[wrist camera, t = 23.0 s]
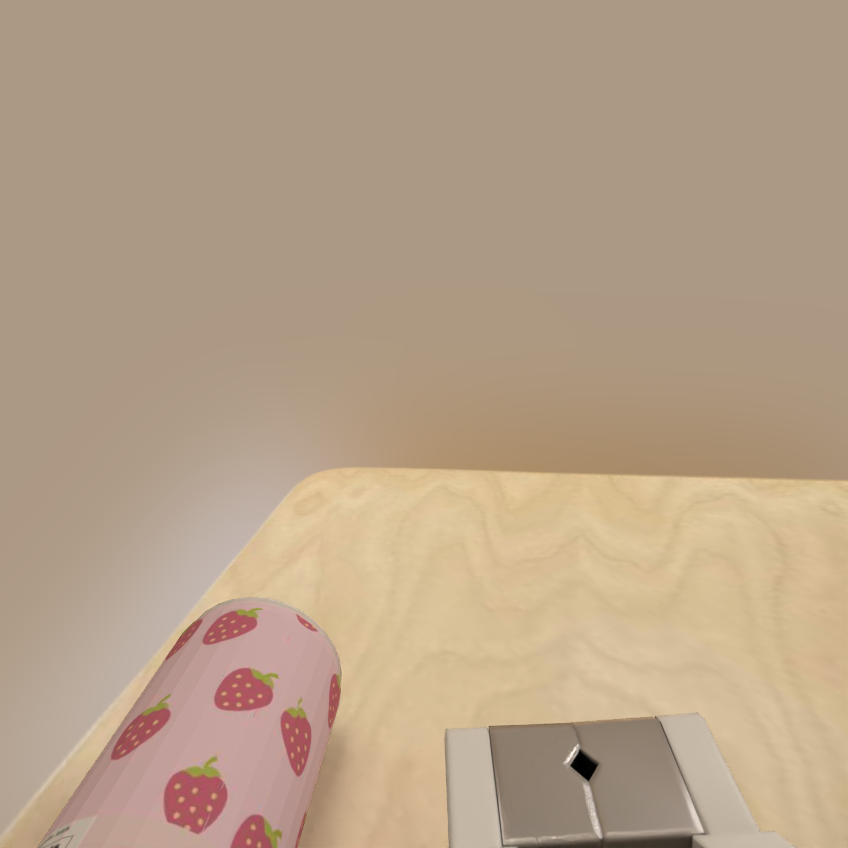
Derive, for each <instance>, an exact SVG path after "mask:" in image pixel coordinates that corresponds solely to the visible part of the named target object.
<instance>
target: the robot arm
mask: <svg viewBox="0 0 848 848" xmlns="http://www.w3.org/2000/svg"><path fill="white" fill-rule="evenodd" d="M445 762H446V787H447V811H448V835H449V848H796V847H795V846H794V845H792V844H791V843H790V842H788V841H787V840H786V839H784V838H783V837H782V836H780V835H779V834H778V833H776V832H775V831H764V832H760V830H759V828H758V826H757V824H756V822H755V820H754V818H753V816H752V813H751V811H750V809H749V807H748V805H747V803H746V801H745V799H744V797H743V795H742V793H741V791H740V789H739V787H738V785H737V783H736V781H735V779H734V777H733V775H732V773H731V771H730V769H729V767H728V765H727V763H726V761H725V759H724V757H723V755H722V753H721V751H720V749H719V747H718V745H717V743H716V741H715V739H714V737H713V735H712V733H711V731H710V729H709V727H708V725H707V723H706V721H705V719H704V718H703V717H702V716H701V715H700V714H698V713H688V714H675V715H662V716H655V717H654V718H653V717H640V718H627V719H613V720H599V721H585V722H572V723H558V724H532V725H506V726H489V732H488V728H487V727H483V728H450V729H446V732H445Z"/></svg>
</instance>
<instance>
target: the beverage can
mask: <svg viewBox="0 0 848 848" xmlns="http://www.w3.org/2000/svg"><path fill="white" fill-rule="evenodd" d="M341 675H342V674H341V666H340V659H339V657H338V654H337V652H336V649H335V646H334V645H333V643H332V641H331V640H330V638H329V637H328V635H327V634H326V632H325V631H324V630H323V629H322V628H321V627H320V626H319V625H318V624H317V622H316V621H315V620H314V619H312V618H311V617H310V616H308V615H307V614H305V613H304V612H303V611H301V610H300V609H298V608H295V607H293V606H291V605H289V604H287V603H285V602H281V601H277V600H274V599H270V598H260V597H247V598H237V599H232V600H229V601H226V602H222V603H219V604H217V605H216V606H214V607H212V608H210V609H209V610H207V611H206V612H204V613H203V614H202V615H201V616H200V617H199V618H198V619H197V620H196V621H195V622H193V623H192V624H191V625H190V626H189V627H188V628H187V629H186V630H185V631H184V632H183V633H182V635H181V636H180V638H179V639H178V641H177V642H176V644H175V645H174V647H173V648H172V650H171V651H170V652H169V654H168V655H167V657H166V658H165V660H164V661H163V663H162V664H161V666H160V667H159V669H158V670H157V672H156V673H155V675H154V676H153V678H152V679H151V680H150V682H149V683H148V685H147V686H146V688H145V689H144V691H143V692H142V694H141V695H140V697H139V698H138V700H137V701H136V703H135V704H134V706H133V707H132V708H131V710H130V711H129V713H128V714H127V716H126V717H125V719H124V720H123V722H122V723H121V725H120V726H119V728H118V729H117V731H116V732H115V734H114V735H113V736H112V738H111V739H110V741H109V742H108V744H107V745H106V747H105V748H104V750H103V751H102V753H101V754H100V756H99V757H98V759H97V760H96V762H95V763H94V764H93V766H92V767H91V769H90V770H89V772H88V773H87V775H86V776H85V778H84V779H83V781H82V782H81V784H80V785H79V787H78V788H77V790H76V791H75V792H74V794H73V795H72V797H71V798H70V800H69V801H68V803H67V804H66V806H65V807H64V809H63V810H62V812H61V813H60V815H59V816H58V818H57V819H56V820H55V822H54V823H53V825H52V826H51V828H50V829H49V831H48V832H47V834H46V835H45V837H44V838H43V840H42V841H41V843H40V844H39V846H38V847H37V848H297V846H298V843H299V839H300V836H301V832H302V829H303V826H304V822H305V819H306V815H307V812H308V809H309V805H310V802H311V798H312V795H313V792H314V788H315V785H316V781H317V778H318V775H319V771H320V768H321V764H322V761H323V758H324V754H325V751H326V747H327V744H328V741H329V737H330V734H331V730H332V727H333V723H334V720H335V717H336V713H337V710H338V706H339V701H340V693H341V687H340V683H341Z"/></svg>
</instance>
